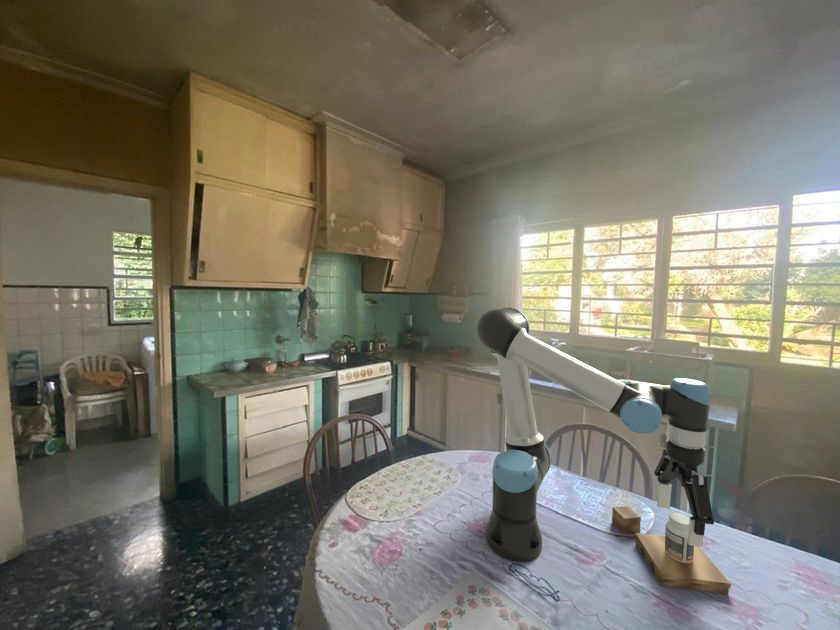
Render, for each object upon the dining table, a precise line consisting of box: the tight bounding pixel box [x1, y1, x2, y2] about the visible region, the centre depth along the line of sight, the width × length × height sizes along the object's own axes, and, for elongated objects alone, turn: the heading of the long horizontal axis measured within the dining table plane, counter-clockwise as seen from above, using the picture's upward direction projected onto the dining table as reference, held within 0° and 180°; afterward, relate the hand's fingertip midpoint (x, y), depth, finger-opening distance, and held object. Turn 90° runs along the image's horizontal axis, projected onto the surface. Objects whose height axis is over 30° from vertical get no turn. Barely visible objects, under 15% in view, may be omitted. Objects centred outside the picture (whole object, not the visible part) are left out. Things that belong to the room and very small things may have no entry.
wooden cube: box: [611, 505, 642, 536], centre depth 99 cm, size 5×5×5 cm
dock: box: [634, 532, 732, 595], centre depth 85 cm, size 14×14×3 cm
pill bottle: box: [664, 512, 694, 563], centre depth 84 cm, size 6×6×10 cm
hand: (677, 524), depth 84 cm, fingers open, 13 cm apart
